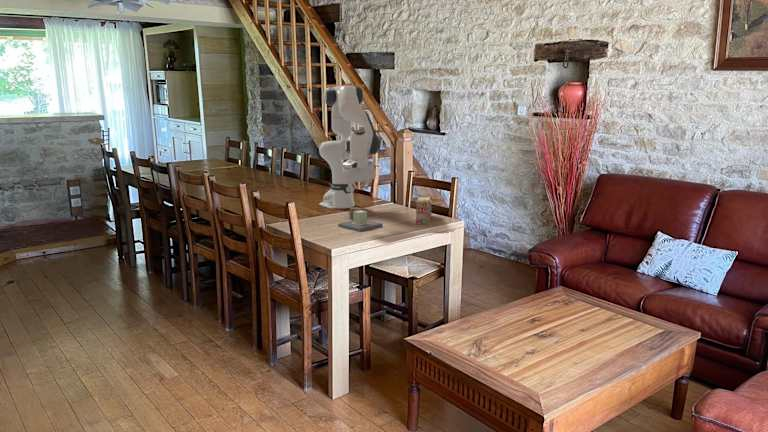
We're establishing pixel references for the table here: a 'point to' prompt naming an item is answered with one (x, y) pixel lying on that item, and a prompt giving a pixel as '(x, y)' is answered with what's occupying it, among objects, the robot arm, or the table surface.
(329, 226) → the table surface
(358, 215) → the green block
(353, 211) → the walnut block
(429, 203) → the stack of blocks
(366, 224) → the baseplate
